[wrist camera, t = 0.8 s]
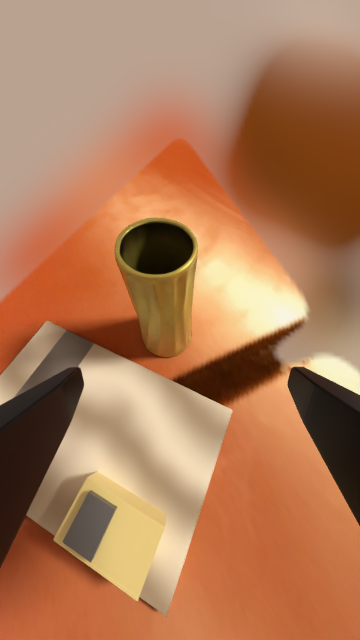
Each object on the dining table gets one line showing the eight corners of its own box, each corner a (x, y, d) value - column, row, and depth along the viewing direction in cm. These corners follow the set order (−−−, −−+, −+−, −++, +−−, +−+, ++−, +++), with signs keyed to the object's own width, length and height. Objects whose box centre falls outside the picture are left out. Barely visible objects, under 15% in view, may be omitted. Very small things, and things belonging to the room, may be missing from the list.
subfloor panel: (167, 607, 15) (166, 616, 15) (-56, 449, 20) (-64, 450, 19) (230, 410, 22) (232, 410, 21) (50, 323, 26) (47, 320, 25)
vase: (144, 312, 27) (114, 211, 14) (191, 312, 27) (203, 212, 14) (140, 357, 24) (97, 284, 11) (192, 358, 24) (208, 285, 11)
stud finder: (166, 514, 17) (164, 530, 15) (142, 577, 16) (135, 608, 13) (97, 471, 19) (83, 479, 16) (68, 525, 17) (48, 544, 14)
